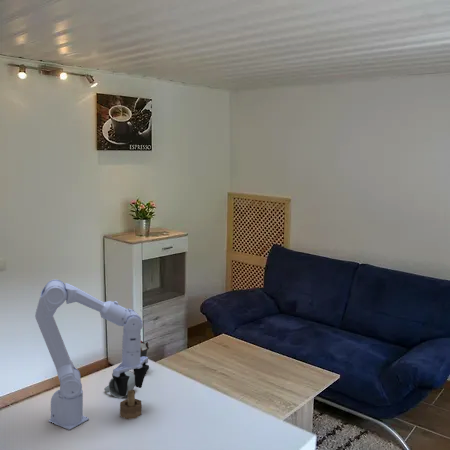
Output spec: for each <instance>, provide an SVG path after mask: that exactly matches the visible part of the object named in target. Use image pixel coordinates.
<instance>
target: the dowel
mask: <svg viewBox="0 0 450 450" xmlns="http://www.w3.org/2000/svg"><path fill="white" fill-rule="evenodd" d="M135 392H136V391H135V389H132V390H129V391H128V394H127V399H128V406H134V405H135V399H136V395H135Z"/></svg>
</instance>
